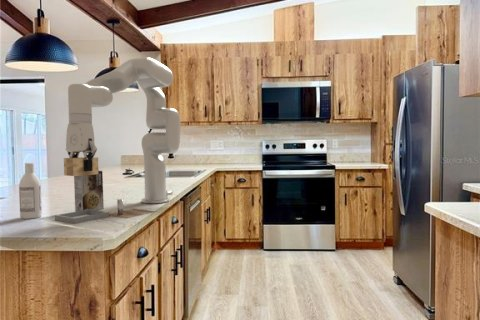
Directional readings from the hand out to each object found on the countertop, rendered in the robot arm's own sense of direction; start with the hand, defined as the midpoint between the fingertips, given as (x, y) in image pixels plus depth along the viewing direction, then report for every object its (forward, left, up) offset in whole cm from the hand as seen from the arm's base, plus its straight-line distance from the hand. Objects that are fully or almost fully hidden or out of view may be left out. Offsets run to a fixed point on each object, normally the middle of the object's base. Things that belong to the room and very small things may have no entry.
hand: (81, 170), depth 135 cm
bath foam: (+7, -20, -18) cm, 28 cm away
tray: (0, 0, -18) cm, 18 cm away
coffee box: (-12, -12, -18) cm, 25 cm away
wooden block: (0, 0, -2) cm, 2 cm away
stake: (-11, +7, -18) cm, 22 cm away
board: (-15, +8, -18) cm, 24 cm away
